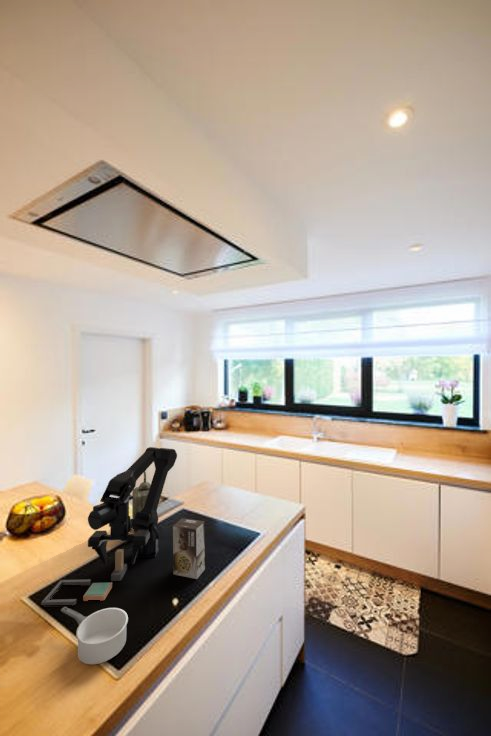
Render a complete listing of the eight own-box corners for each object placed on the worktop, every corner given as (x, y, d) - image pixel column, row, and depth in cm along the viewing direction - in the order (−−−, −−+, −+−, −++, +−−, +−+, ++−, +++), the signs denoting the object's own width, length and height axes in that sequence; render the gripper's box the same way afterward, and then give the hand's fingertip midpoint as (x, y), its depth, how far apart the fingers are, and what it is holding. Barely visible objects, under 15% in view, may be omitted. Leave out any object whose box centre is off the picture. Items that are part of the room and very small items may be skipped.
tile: (112, 588, 99) (112, 581, 99) (103, 601, 93) (104, 594, 93) (92, 588, 98) (92, 582, 99) (83, 602, 92) (83, 595, 93)
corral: (90, 583, 100) (90, 579, 100) (74, 605, 90) (74, 601, 91) (60, 583, 100) (60, 580, 100) (41, 606, 90) (41, 602, 90)
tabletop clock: (156, 536, 131) (156, 475, 131) (133, 540, 127) (133, 477, 128) (153, 521, 144) (153, 466, 145) (132, 525, 141) (132, 468, 142)
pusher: (127, 569, 108) (127, 545, 108) (120, 580, 102) (120, 555, 102) (118, 569, 108) (118, 546, 108) (111, 581, 102) (111, 555, 102)
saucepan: (82, 614, 87) (82, 594, 87) (138, 638, 79) (138, 615, 79) (40, 646, 77) (41, 623, 77) (100, 678, 69) (100, 651, 69)
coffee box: (205, 568, 108) (205, 520, 108) (196, 580, 102) (196, 529, 102) (182, 563, 111) (182, 517, 111) (172, 574, 105) (172, 525, 105)
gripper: (154, 506, 114) (154, 550, 113) (101, 507, 113) (101, 551, 113) (145, 520, 103) (144, 569, 102) (87, 521, 102) (86, 570, 101)
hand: (119, 564), depth 105 cm, fingers open, 9 cm apart
